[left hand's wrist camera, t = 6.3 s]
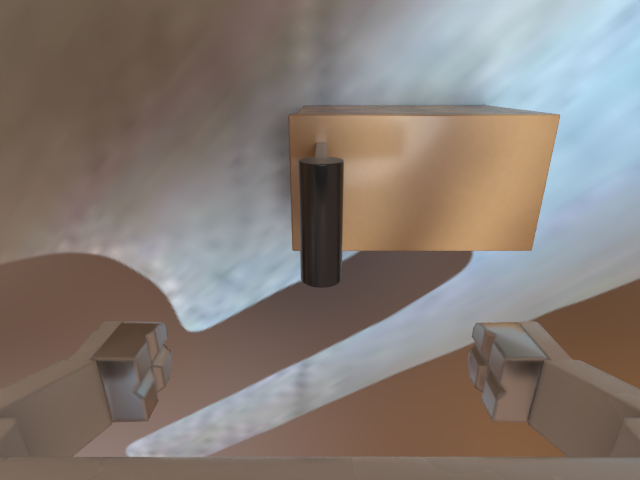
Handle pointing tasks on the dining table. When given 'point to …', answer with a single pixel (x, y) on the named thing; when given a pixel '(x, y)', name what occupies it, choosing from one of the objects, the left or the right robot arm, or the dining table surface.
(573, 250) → the dining table surface
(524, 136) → the lid
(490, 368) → the left robot arm
